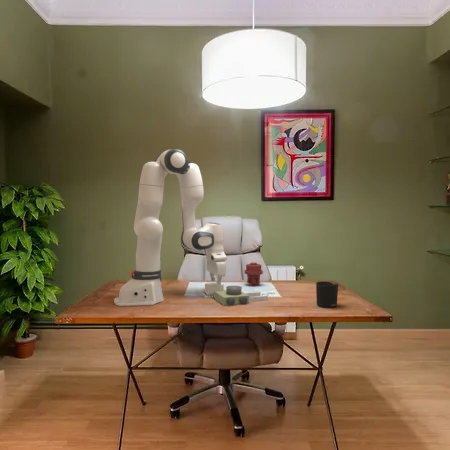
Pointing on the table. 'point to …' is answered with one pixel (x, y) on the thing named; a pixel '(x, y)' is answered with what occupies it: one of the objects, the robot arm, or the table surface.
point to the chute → (213, 288)
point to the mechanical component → (253, 273)
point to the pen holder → (326, 294)
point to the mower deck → (237, 296)
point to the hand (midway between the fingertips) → (215, 282)
